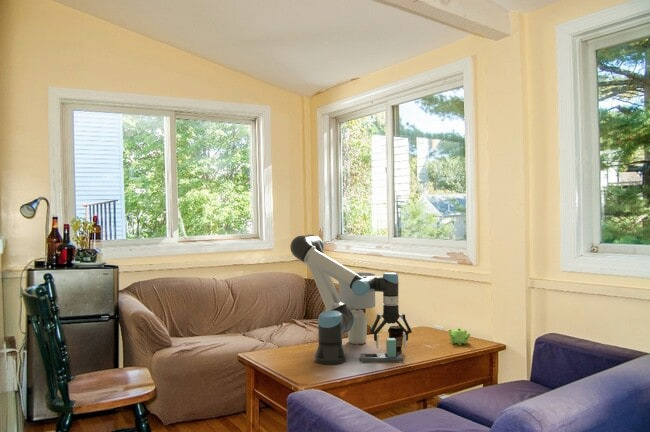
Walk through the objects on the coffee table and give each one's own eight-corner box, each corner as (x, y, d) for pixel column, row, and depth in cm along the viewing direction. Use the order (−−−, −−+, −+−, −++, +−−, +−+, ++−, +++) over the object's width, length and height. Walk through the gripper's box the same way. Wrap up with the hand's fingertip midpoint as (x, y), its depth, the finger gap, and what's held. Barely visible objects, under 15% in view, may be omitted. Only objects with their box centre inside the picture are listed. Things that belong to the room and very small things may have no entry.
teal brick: (387, 360, 253) (387, 340, 253) (386, 358, 257) (386, 338, 257) (396, 360, 253) (395, 340, 253) (394, 358, 257) (394, 338, 257)
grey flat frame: (362, 362, 250) (361, 358, 250) (360, 357, 259) (359, 353, 259) (403, 361, 251) (403, 357, 251) (399, 356, 260) (399, 352, 260)
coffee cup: (407, 351, 269) (407, 326, 269) (398, 354, 263) (398, 329, 263) (393, 348, 275) (393, 324, 275) (384, 351, 269) (384, 326, 269)
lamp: (331, 342, 290) (331, 273, 290) (356, 336, 304) (356, 270, 304) (357, 349, 275) (357, 275, 275) (383, 342, 289) (382, 272, 289)
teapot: (469, 341, 290) (469, 326, 290) (470, 346, 279) (470, 331, 279) (448, 340, 292) (448, 325, 292) (449, 345, 281) (449, 330, 281)
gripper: (366, 306, 251) (366, 349, 251) (417, 305, 252) (417, 349, 252) (364, 303, 258) (364, 345, 258) (414, 302, 259) (414, 345, 259)
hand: (391, 347), depth 255 cm, fingers open, 13 cm apart
